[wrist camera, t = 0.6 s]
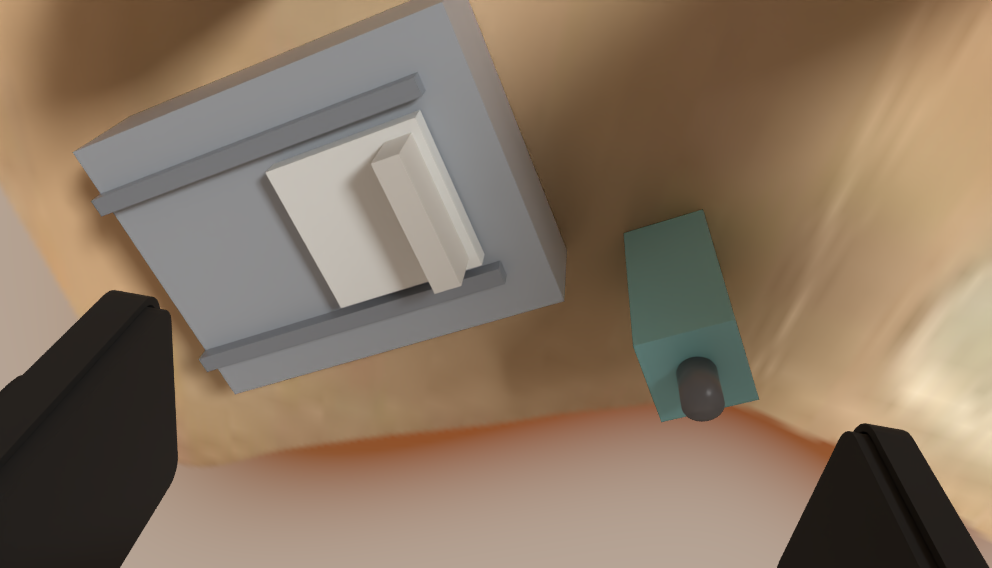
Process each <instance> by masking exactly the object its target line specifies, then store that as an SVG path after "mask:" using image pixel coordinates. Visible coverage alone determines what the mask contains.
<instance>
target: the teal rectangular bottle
mask: <svg viewBox="0 0 992 568" xmlns="http://www.w3.org/2000/svg"><path fill="white" fill-rule="evenodd" d="M624 244H625V256H626V268H627V280H628V292H629V304H630V316H631V327H632V339H633V347H634V350H635V353H636V355H637V358H638V361H639V363H640V366H641V369H642V371H643V374H644V377H645V379H646V382H647V385H648V387H649V390H650V393H651V396H652V398H653V401H654V404H655V406H656V409H657V412H658V414H659V417H660V419H661V422H664V421H668V420H673V419H677V418H682V417H686V416H687V417H688V418H690V419H692V420H695V421H709V420H712V419H714V418H716V417H718V416H719V415H720V414H721V413H722V412H723V410H724V408H725V407H729V406H733V405H738V404H742V403H746V402H751V401H755V400H759V397H758V394H757V391H756V387H755V384H754V380H753V377H752V374H751V370H750V367H749V364H748V360H747V357H746V353H745V350H744V347H743V343H742V340H741V337H740V333H739V330H738V326H737V323H736V320H735V316H734V313H733V309H732V306H731V303H730V299H729V296H728V293H727V289H726V286H725V282H724V279H723V276H722V272H721V269H720V265H719V262H718V259H717V255H716V252H715V249H714V245H713V242H712V239H711V235H710V232H709V228H708V225H707V222H706V218H705V215H704V212H703V209H702V210H699V211H696V212H692V213H689V214H686V215H682V216H679V217H676V218H673V219H669V220H666V221H663V222H659V223H656V224H653V225H649V226H646V227H643V228H639V229H636V230H633V231H629V232H626V233H624Z"/></svg>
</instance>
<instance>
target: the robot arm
mask: <svg viewBox="0 0 992 568" xmlns="http://www.w3.org/2000/svg"><path fill="white" fill-rule="evenodd" d="M177 462H178V451H177V430H176V408H175V387H174V366H173V344H172V323H171V315H170V313H169V312H168V311H167V310H163V309H160V306H159V303H158V301H157V299H156V298H154V297H150V296H145V295H139V294H133V293H128V292H122V291H116V290H111V291H109V292H107V293H106V294H105V295H103V296H102V297H101V298H100V299H99V300H98V301H97V302H96V303H95V304H94V305H93V306H92V307H91V308H90V309H89V310H88V311H87V312H86V313H85V314H84V315H83V316H82V317H81V318H80V319H79V320H78V321H77V322H76V323H75V324H74V325H73V326H72V327H71V328H70V329H69V330H68V331H67V332H66V333H65V334H64V335H63V336H62V337H61V338H60V339H59V340H58V341H57V342H56V343H55V344H54V345H53V346H52V347H51V348H50V349H49V350H48V351H47V352H45V354H44V355H42V356H41V357H40V358H39V359H38V360H37V361H36V362H35V363H34V364H33V365H32V366H31V367H30V368H29V369H28V370H27V371H26V372H25V373H24V374H23V375H21V376H18V377H17V378H16V379H14V380H13V381H11V382H10V383H9V384H8V385H7V386H6V387H5V388H3V389H2V390H1V391H0V568H120V566H121V565H122V563H123V562H124V560H125V558H126V557H127V555H128V554H129V552H130V550H131V548H132V547H133V545H134V544H135V542H136V541H137V539H138V537H139V535H140V534H141V532H142V531H143V529H144V527H145V526H146V524H147V523H148V521H149V519H150V517H151V516H152V514H153V513H154V511H155V509H156V508H157V506H158V505H159V503H160V501H161V500H162V498H163V496H164V495H165V493H166V491H167V489H168V488H169V487H170V484H171V483H172V481H173V478H174V475H175V472H176V468H177ZM777 568H989V566H988V565H987V563H986V561H985V560H984V558H983V556H982V555H981V553H980V551H979V549H978V548H977V546H976V544H975V543H974V541H973V539H972V538H971V536H970V534H969V532H968V531H967V529H966V527H965V526H964V524H963V522H962V521H961V519H960V517H959V516H958V514H957V512H956V510H955V509H954V507H953V505H952V504H951V502H950V500H949V499H948V497H947V495H946V494H945V492H944V490H943V488H942V487H941V485H940V483H939V482H938V480H937V478H936V477H935V475H934V473H933V472H932V470H931V468H930V466H929V465H928V463H927V461H926V460H925V458H924V456H923V455H922V453H921V451H920V450H919V448H918V446H917V444H916V443H915V441H914V439H913V438H912V436H911V435H910V434H909V433H908V432H906V431H904V430H900V429H894V428H888V427H883V426H877V425H871V424H866V423H865V424H860V425H859V426H858V427H856V428H855V430H854V431H853V432H851V431H847V432H845V433H843V434H842V435H841V437H840V439H839V440H838V442H837V444H836V447H835V449H834V451H833V453H832V455H831V457H830V459H829V461H828V463H827V465H826V467H825V469H824V471H823V473H822V475H821V477H820V479H819V481H818V483H817V486H816V487H815V490H814V492H813V494H812V496H811V498H810V500H809V502H808V504H807V506H806V508H805V510H804V512H803V514H802V516H801V518H800V520H799V522H798V524H797V526H796V528H795V530H794V532H793V534H792V537H791V539H790V541H789V543H788V545H787V547H786V549H785V551H784V553H783V555H782V557H781V559H780V561H779V564H778V566H777Z"/></svg>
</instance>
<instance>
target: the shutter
mask: <svg viewBox="0 0 992 568" xmlns="http://www.w3.org/2000/svg"><path fill="white" fill-rule="evenodd" d="M266 175H267V177H268V178H269V180H270V182H271V184H272V185H273V187H274V189H275V191H276V193H277V194H278V196H279V198H280V200H281V202H282V203H283V205H284V207H285V209H286V210H287V212H288V214H289V216H290V218H291V219H292V221H293V223H294V225H295V227H296V228H297V230H298V232H299V234H300V235H301V237H302V239H303V241H304V243H305V244H306V246H307V248H308V250H309V252H310V253H311V255H312V257H313V259H314V260H315V262H316V264H317V266H318V268H319V269H320V271H321V273H322V275H323V277H324V278H325V280H326V282H327V284H328V285H329V287H330V289H331V291H332V293H333V294H334V296H335V298H336V300H337V302H338V303H339V305H340V307H341V308H343V307H346V306H349V305H353V304H356V303H359V302H363V301H366V300H369V299H372V298H376V297H379V296H382V295H386V294H389V293H392V292H395V291H399V290H402V289H405V288H409V287H412V286H415V285H418V284H422V283H425V282H428V281H429V283H430V285H431V288H432V290H433V292H434V294H436V293H439V292H443V291H446V290H449V289H453V288H456V287H459V286H461V285H462V282H463V278H464V275H465V271H466V270H468V269H471V268H474V267H478V266H481V265H482V263H483V259H484V255H485V254H484V252H483V250H482V247H481V245H480V243H479V241H478V239H477V236H476V234H475V232H474V230H473V227H472V225H471V223H470V221H469V218H468V216H467V214H466V212H465V209H464V207H463V205H462V203H461V200H460V198H459V196H458V194H457V192H456V189H455V187H454V185H453V183H452V180H451V178H450V176H449V174H448V171H447V169H446V167H445V165H444V162H443V160H442V158H441V156H440V154H439V151H438V149H437V147H436V145H435V142H434V140H433V138H432V136H431V133H430V131H429V129H428V127H427V124H426V122H425V120H424V118H423V116H422V113H421V111H420V110H418V111H415V112H412V113H410V114H407V115H404V116H402V117H399V118H396V119H393V120H391V121H388V122H385V123H383V124H380V125H377V126H375V127H372V128H369V129H366V130H364V131H361V132H358V133H356V134H353V135H350V136H348V137H345V138H342V139H339V140H337V141H334V142H331V143H329V144H326V145H323V146H321V147H318V148H315V149H312V150H310V151H307V152H304V153H302V154H299V155H296V156H294V157H291V158H288V159H285V160H283V161H280V162H277V163H275V164H273V165H272V166H271V167H270V168H269V169H268V170H267V171H266Z"/></svg>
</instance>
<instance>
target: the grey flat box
mask: <svg viewBox="0 0 992 568" xmlns="http://www.w3.org/2000/svg"><path fill="white" fill-rule="evenodd" d="M418 110H420V111H421V113H422V116H423V118H424V120H425V122H426V124H427V127H428V129H429V131H430V133H431V136H432V138H433V140H434V142H435V145H436V147H437V149H438V151H439V154H440V156H441V158H442V160H443V162H444V165H445V167H446V169H447V171H448V174H449V176H450V178H451V180H452V183H453V185H454V187H455V189H456V192H457V194H458V196H459V198H460V200H461V203H462V205H463V207H464V209H465V212H466V214H467V216H468V218H469V221H470V223H471V225H472V227H473V230H474V232H475V234H476V236H477V239H478V241H479V243H480V245H481V247H482V250H483V252H484V254H485V255H484V259H483V263H482V265H481V266H478V267H474V268H471V269H468V270H466V271H465V275H464V278H463V282H462V285H461V286H459V287H456V288H453V289H449V290H446V291H443V292H439V293H436V294H434V292H433V290H432V288H431V285H430V283H429V281H428V282H425V283H422V284H418V285H415V286H412V287H409V288H405V289H402V290H399V291H395V292H392V293H389V294H386V295H382V296H379V297H376V298H372V299H369V300H366V301H363V302H359V303H356V304H353V305H349V306H346V307H343V308H341V307H340V305H339V303H338V302H337V300H336V298H335V296H334V294H333V293H332V291H331V289H330V287H329V285H328V284H327V282H326V280H325V278H324V277H323V275H322V273H321V271H320V269H319V268H318V266H317V264H316V262H315V260H314V259H313V257H312V255H311V253H310V252H309V250H308V248H307V246H306V244H305V243H304V241H303V239H302V237H301V235H300V234H299V232H298V230H297V228H296V227H295V225H294V223H293V221H292V219H291V218H290V216H289V214H288V212H287V210H286V209H285V207H284V205H283V203H282V202H281V200H280V198H279V196H278V194H277V193H276V191H275V189H274V187H273V185H272V184H271V182H270V180H269V178H268V177H267V175H266V171H267V170H268V169H269V168H270V167H271V166H272V165H273V164H275V163H277V162H280V161H283V160H285V159H288V158H291V157H294V156H296V155H299V154H302V153H304V152H307V151H310V150H312V149H315V148H318V147H321V146H323V145H326V144H329V143H331V142H334V141H337V140H339V139H342V138H345V137H348V136H350V135H353V134H356V133H358V132H361V131H364V130H366V129H369V128H372V127H375V126H377V125H380V124H383V123H385V122H388V121H391V120H393V119H396V118H399V117H402V116H404V115H407V114H410V113H412V112H415V111H418ZM73 153H74V155H75V156H76V158H77V159H78V161H79V162H80V164H81V165H82V167H83V168H84V170H85V171H86V173H87V174H88V176H89V177H90V179H91V180H92V182H93V183H94V185H95V186H96V188H97V189H98V191H99V192H100V195H98V196H97V197H96V198H94V199H93V200H92V201H91V202H92V203H93V205H94V206H95V208H96V209H97V211H98V212H99V214H100V215H101V216H104V215H107V214H109V213H112V212H113V213H114V215H115V216H116V218H117V219H118V221H119V222H120V224H121V225H122V227H123V228H124V229H125V231H126V232H127V234H128V235H129V237H130V238H131V240H132V241H133V243H134V244H135V246H136V247H137V249H138V250H139V252H140V253H141V255H142V256H143V258H144V259H145V261H146V262H147V264H148V265H149V267H150V268H151V270H152V271H153V273H154V274H155V276H156V277H157V279H158V280H159V282H160V283H161V285H162V286H163V288H164V289H165V291H166V292H167V294H168V295H169V297H170V298H171V300H172V301H173V303H174V304H175V306H176V307H177V309H178V310H179V311H180V313H181V314H182V316H183V317H184V319H185V320H186V322H187V323H188V325H189V326H190V328H191V329H192V331H193V332H194V334H195V335H196V337H197V338H198V340H199V341H200V343H201V344H202V346H203V347H204V349H205V351H204V353H203V354H202V355H201V357H200V358H199V361H200V362H201V364H202V365H203V367H204V368H205V369H206V371H207V372H209V371H212V370H215V369H218V370H219V371H220V373H221V374H222V376H223V377H224V379H225V380H226V382H227V383H228V385H229V386H230V388H231V389H232V391H233V392H234V393H235V394H237V393H241V392H244V391H248V390H252V389H255V388H259V387H262V386H266V385H269V384H273V383H276V382H280V381H283V380H287V379H290V378H294V377H298V376H301V375H305V374H308V373H312V372H315V371H319V370H322V369H326V368H329V367H333V366H336V365H340V364H343V363H347V362H351V361H354V360H358V359H361V358H365V357H368V356H372V355H375V354H379V353H382V352H386V351H389V350H393V349H397V348H400V347H404V346H407V345H411V344H414V343H418V342H421V341H425V340H428V339H432V338H435V337H439V336H442V335H446V334H450V333H453V332H457V331H460V330H464V329H467V328H471V327H474V326H478V325H481V324H485V323H488V322H492V321H496V320H499V319H503V318H506V317H510V316H513V315H517V314H520V313H524V312H527V311H531V310H534V309H538V308H541V307H545V306H549V305H552V304H556V303H559V302H563V301H564V295H565V276H566V258H567V250H566V247H565V244H564V242H563V239H562V237H561V234H560V232H559V229H558V227H557V224H556V222H555V219H554V216H553V214H552V211H551V209H550V206H549V204H548V201H547V199H546V196H545V194H544V191H543V188H542V186H541V183H540V181H539V178H538V176H537V173H536V171H535V168H534V166H533V163H532V160H531V158H530V155H529V153H528V150H527V148H526V145H525V143H524V140H523V138H522V135H521V132H520V130H519V127H518V125H517V122H516V120H515V117H514V115H513V112H512V109H511V107H510V104H509V102H508V99H507V97H506V94H505V92H504V89H503V87H502V84H501V81H500V79H499V76H498V74H497V71H496V69H495V66H494V64H493V61H492V59H491V56H490V53H489V51H488V48H487V46H486V43H485V41H484V38H483V36H482V33H481V31H480V28H479V25H478V23H477V20H476V18H475V15H474V13H473V10H472V8H471V5H470V3H469V0H410V1H408V2H406V3H403V4H401V5H398V6H396V7H393V8H391V9H389V10H386V11H384V12H381V13H379V14H376V15H374V16H372V17H369V18H367V19H364V20H362V21H359V22H357V23H355V24H352V25H350V26H347V27H345V28H343V29H340V30H338V31H335V32H333V33H330V34H328V35H326V36H323V37H321V38H318V39H316V40H313V41H311V42H309V43H306V44H304V45H301V46H299V47H296V48H294V49H292V50H289V51H287V52H284V53H282V54H280V55H277V56H275V57H272V58H270V59H267V60H265V61H263V62H260V63H258V64H255V65H253V66H250V67H248V68H246V69H243V70H241V71H238V72H236V73H233V74H231V75H229V76H226V77H224V78H221V79H219V80H217V81H214V82H212V83H209V84H207V85H204V86H202V87H200V88H197V89H195V90H192V91H190V92H187V93H185V94H183V95H180V96H178V97H175V98H173V99H170V100H168V101H166V102H163V103H161V104H158V105H156V106H154V107H151V108H149V109H146V110H144V111H141V112H139V113H137V114H134V115H132V116H129V117H128V118H126V119H125V120H123V121H121V122H120V123H118V124H117V125H115V126H114V127H112V128H110V129H109V130H107V131H106V132H104V133H102V134H101V135H99V136H98V137H96V138H95V139H93V140H91V141H90V142H88V143H87V144H85V145H83V146H82V147H80V148H79V149H77V150H76V151H74V152H73Z"/></svg>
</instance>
